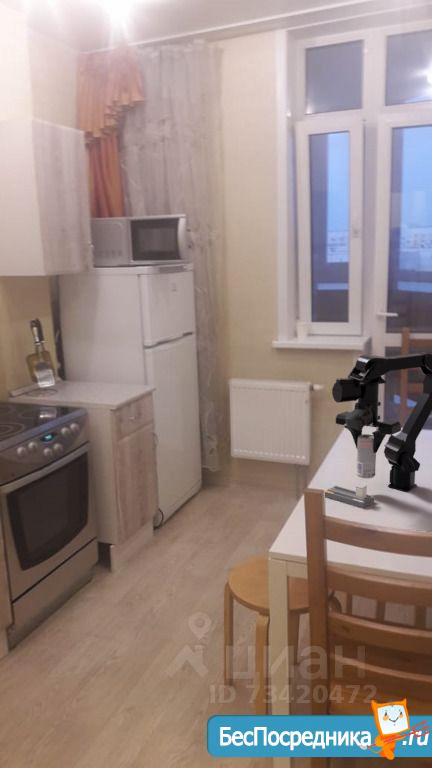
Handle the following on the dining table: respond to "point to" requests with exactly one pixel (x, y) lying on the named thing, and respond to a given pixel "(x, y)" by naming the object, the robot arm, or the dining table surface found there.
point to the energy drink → (366, 456)
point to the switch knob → (361, 491)
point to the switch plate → (348, 496)
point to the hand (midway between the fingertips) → (366, 450)
